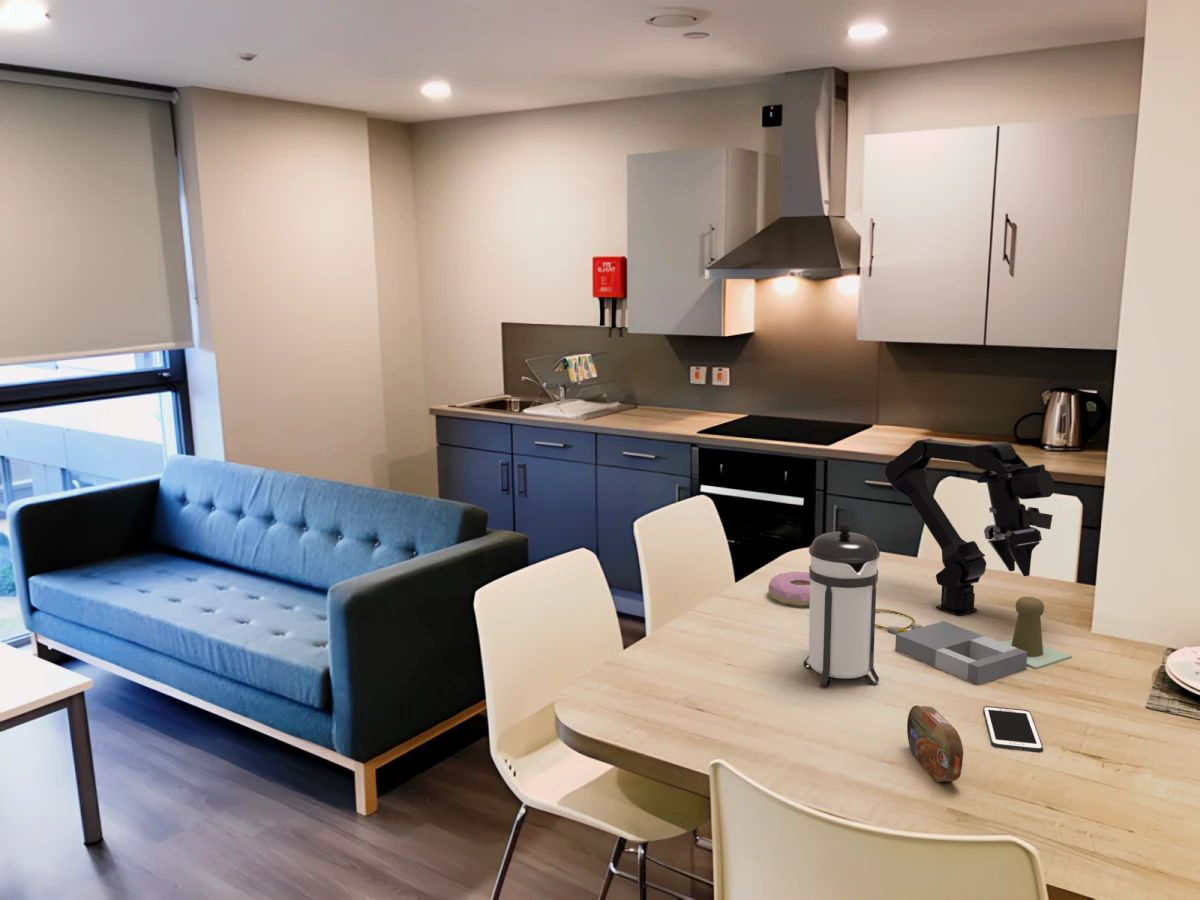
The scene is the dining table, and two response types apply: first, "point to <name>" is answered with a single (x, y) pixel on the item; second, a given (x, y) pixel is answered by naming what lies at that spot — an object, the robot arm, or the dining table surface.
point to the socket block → (961, 652)
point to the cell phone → (1012, 729)
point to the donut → (791, 588)
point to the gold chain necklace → (897, 629)
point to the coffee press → (842, 605)
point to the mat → (1044, 657)
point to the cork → (1029, 626)
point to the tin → (935, 743)
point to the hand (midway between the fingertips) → (1019, 573)
